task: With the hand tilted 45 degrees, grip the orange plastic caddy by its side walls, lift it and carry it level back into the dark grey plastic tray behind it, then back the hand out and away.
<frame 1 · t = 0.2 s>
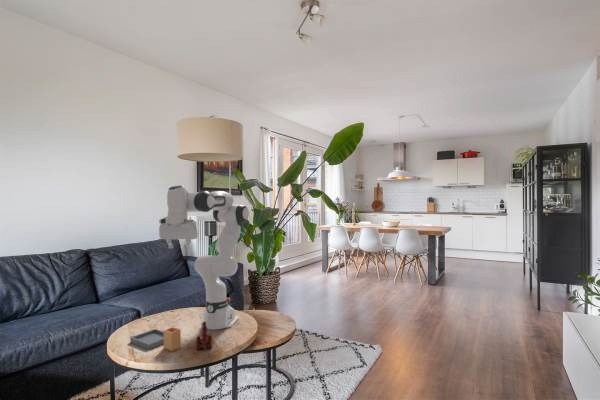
hand: (178, 248, 165), 47 cm above the table, tool pointing down, fingers open, 8 cm apart
tray: (152, 341, 173), on the table
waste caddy: (172, 348, 164), on the table
toy fire truck: (204, 347, 167), on the table
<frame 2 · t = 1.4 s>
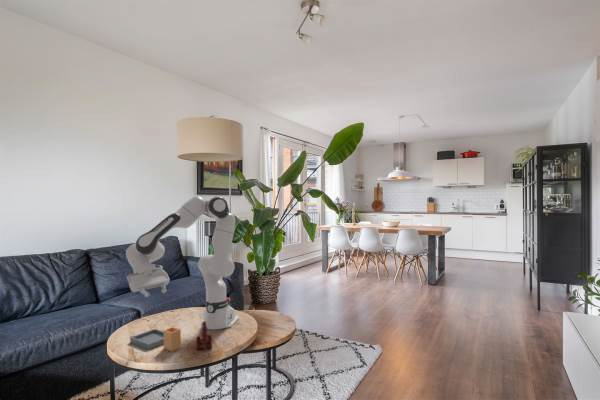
hand: (156, 294, 171), 24 cm above the table, tool tilted 45°, fingers open, 8 cm apart
nothing on the table moved.
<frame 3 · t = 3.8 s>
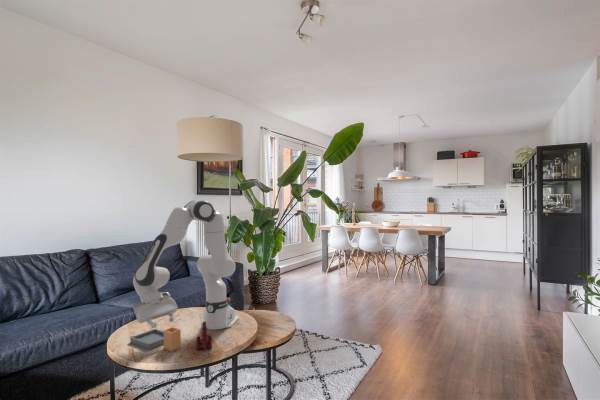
hand: (163, 324, 168), 11 cm above the table, tool tilted 45°, fingers open, 8 cm apart
nothing on the table moved.
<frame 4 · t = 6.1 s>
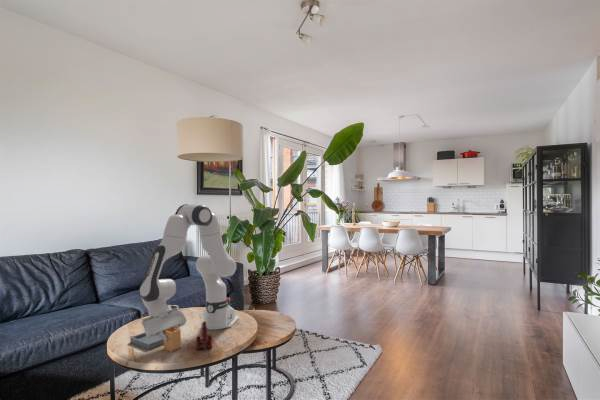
hand: (172, 338, 164), 5 cm above the table, tool tilted 45°, fingers closed on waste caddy, 5 cm apart
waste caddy: (172, 348, 164), on the table, touching gripper
everything else where it was.
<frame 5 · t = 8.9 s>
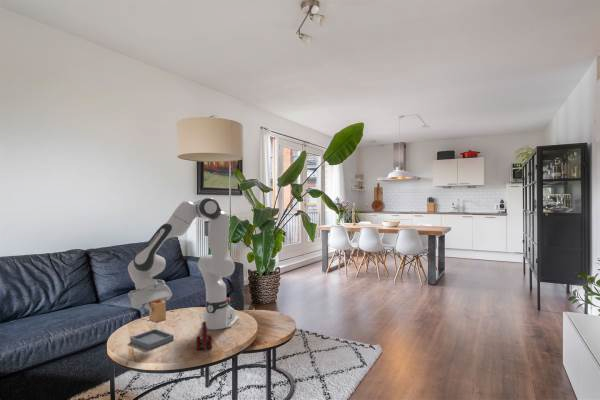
hand: (158, 310, 170), 17 cm above the table, tool tilted 45°, fingers closed on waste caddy, 5 cm apart
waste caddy: (157, 320, 170), point 11 cm above the table, touching gripper
everything else where it was.
when the fingers open (8 cm above the table, at t = 12.0 s): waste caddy drops 1 cm, resting on tray.
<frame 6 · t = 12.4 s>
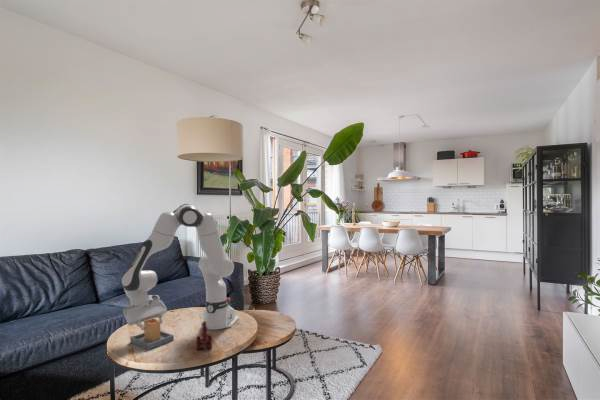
hand: (152, 326, 173), 8 cm above the table, tool tilted 45°, fingers open, 8 cm apart
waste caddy: (152, 339, 173), point 1 cm above the table, touching tray
everything else where it was.
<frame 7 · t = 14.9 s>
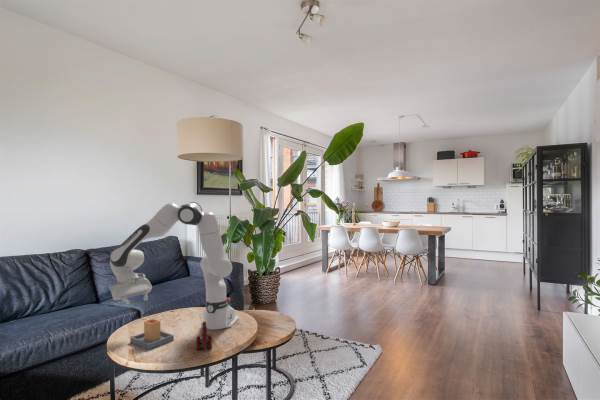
hand: (137, 301, 180), 18 cm above the table, tool tilted 45°, fingers open, 8 cm apart
nothing on the table moved.
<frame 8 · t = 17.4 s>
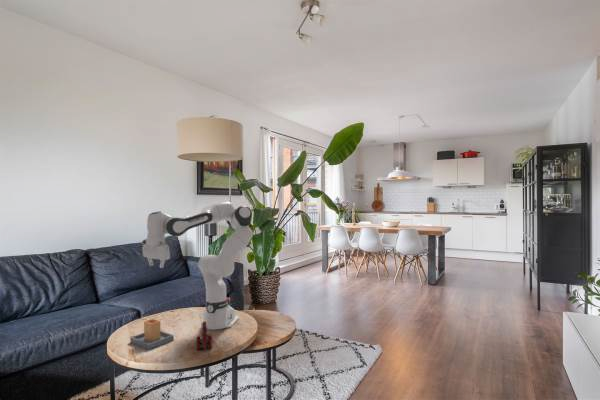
hand: (156, 266, 189), 34 cm above the table, tool pointing down, fingers open, 8 cm apart
nothing on the table moved.
at the end: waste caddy inside the target area on the tray (0.1 cm from its centre), point 1.0 cm above the tray's base; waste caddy tilted 0°; the gripper is holding nothing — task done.
